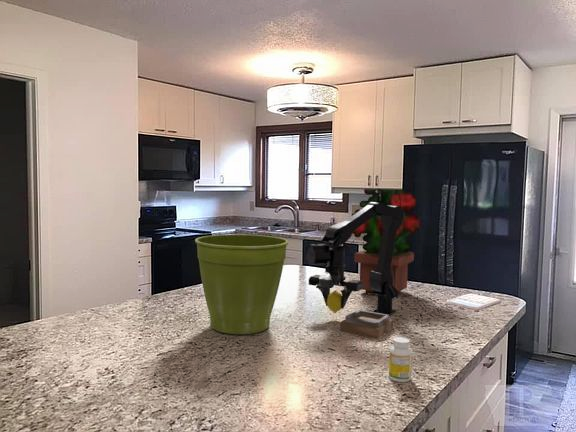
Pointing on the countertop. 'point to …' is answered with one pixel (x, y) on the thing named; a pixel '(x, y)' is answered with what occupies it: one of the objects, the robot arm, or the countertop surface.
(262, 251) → the plant pot
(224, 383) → the countertop surface
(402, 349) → the supplement bottle
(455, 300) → the calculator
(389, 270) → the robot arm
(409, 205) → the potted plant
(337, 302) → the lemon
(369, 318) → the display plinth
